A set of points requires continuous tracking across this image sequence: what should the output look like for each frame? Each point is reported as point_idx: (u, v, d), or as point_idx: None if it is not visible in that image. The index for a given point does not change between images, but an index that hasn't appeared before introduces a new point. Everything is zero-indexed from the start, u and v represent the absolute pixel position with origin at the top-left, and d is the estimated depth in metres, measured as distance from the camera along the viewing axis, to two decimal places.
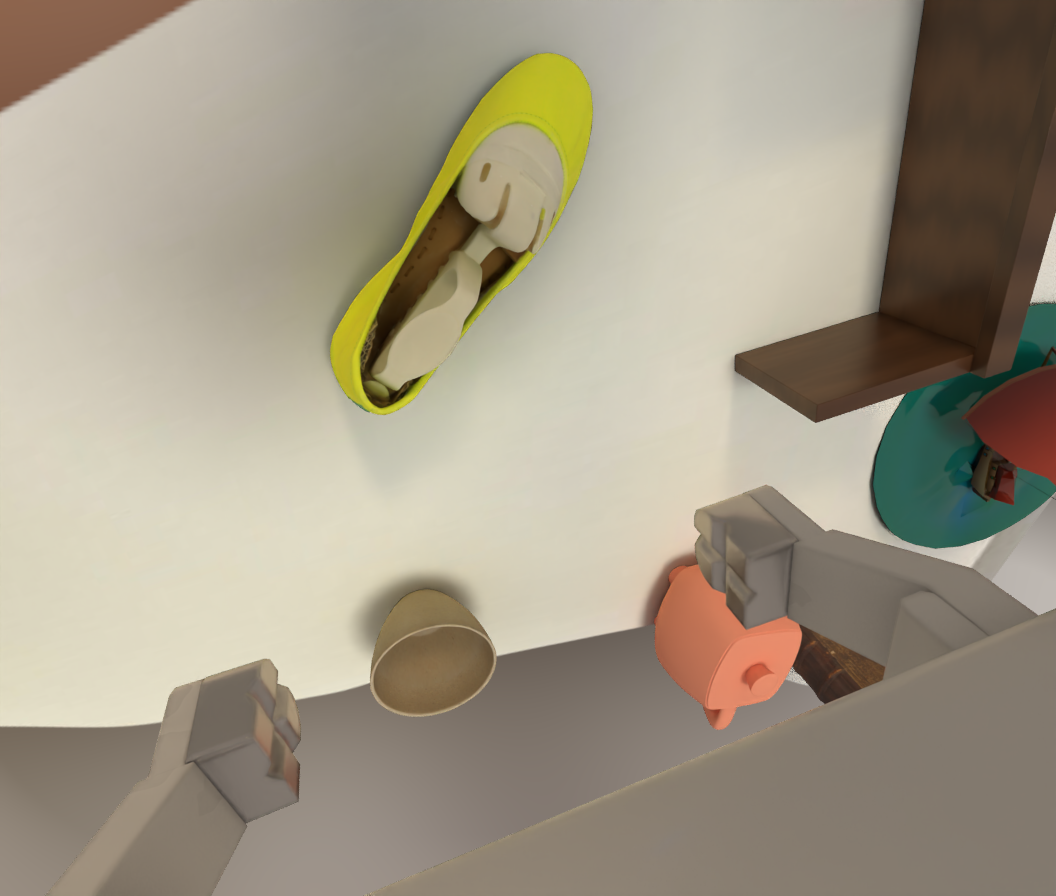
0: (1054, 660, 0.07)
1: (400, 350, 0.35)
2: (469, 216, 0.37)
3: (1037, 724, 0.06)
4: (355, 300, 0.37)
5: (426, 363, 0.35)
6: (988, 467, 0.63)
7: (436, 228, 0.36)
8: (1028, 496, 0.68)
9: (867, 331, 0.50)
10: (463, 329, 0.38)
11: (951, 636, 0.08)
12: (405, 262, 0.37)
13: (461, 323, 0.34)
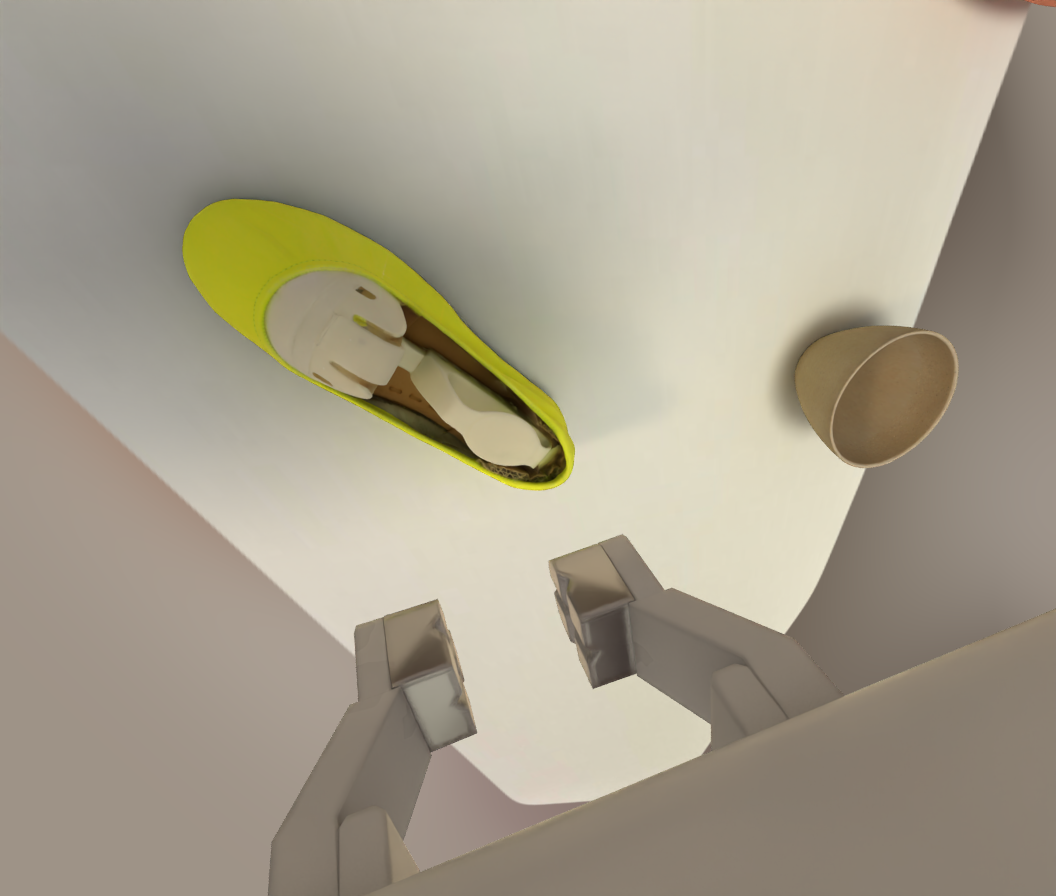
0: (1054, 660, 0.07)
1: (508, 458, 0.34)
2: None
3: (1037, 724, 0.06)
4: None
5: (524, 435, 0.33)
6: None
7: (389, 386, 0.35)
8: None
9: None
10: (494, 373, 0.34)
11: (750, 718, 0.07)
12: (425, 412, 0.36)
13: (482, 415, 0.31)
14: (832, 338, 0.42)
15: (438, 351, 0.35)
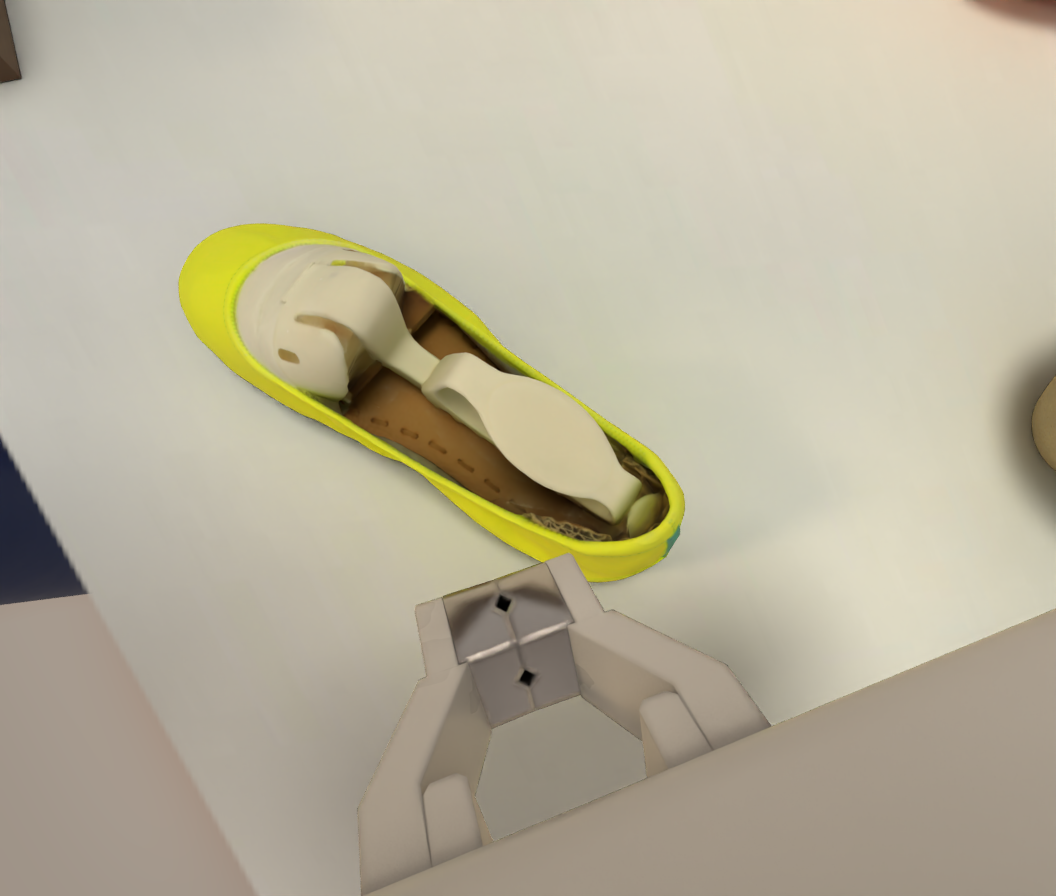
0: (1054, 660, 0.07)
1: (563, 476, 0.21)
2: (384, 382, 0.26)
3: (1037, 724, 0.06)
4: (510, 543, 0.24)
5: (584, 433, 0.21)
6: None
7: (401, 427, 0.25)
8: None
9: None
10: (539, 379, 0.24)
11: (674, 749, 0.07)
12: (453, 471, 0.25)
13: (506, 376, 0.20)
14: None
15: None
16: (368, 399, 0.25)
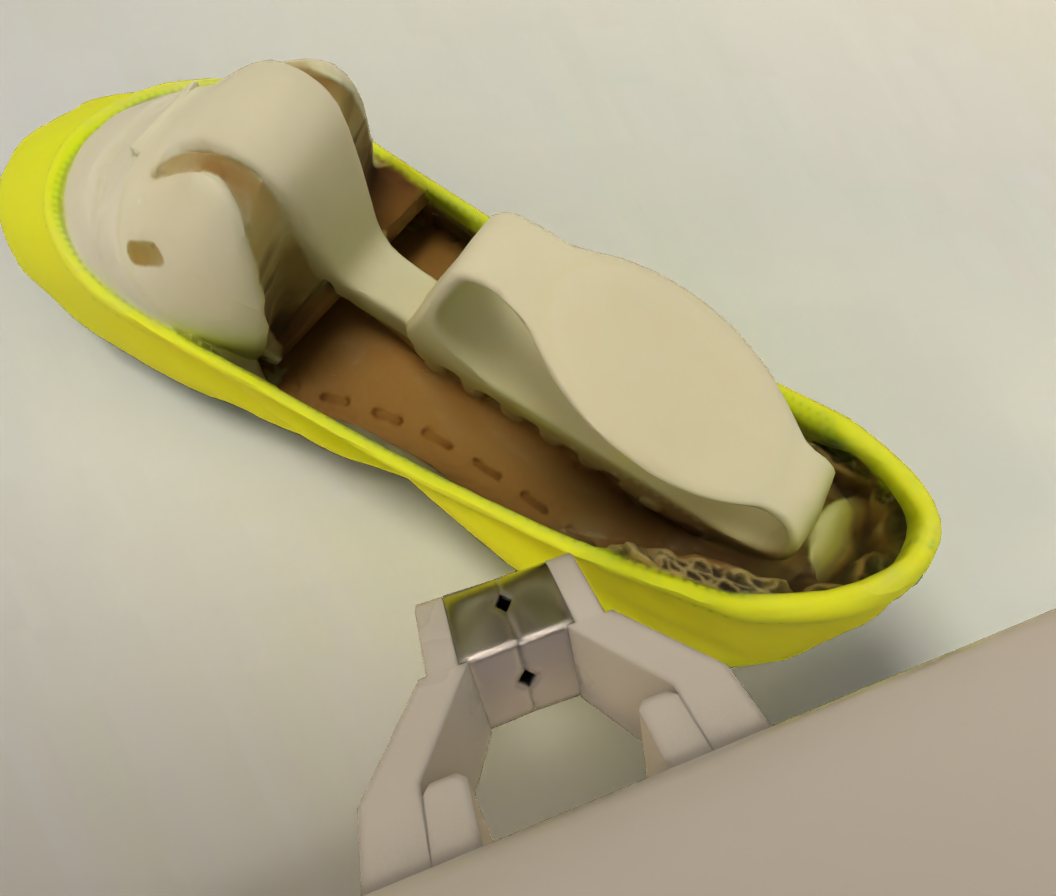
0: (1054, 660, 0.07)
1: (703, 461, 0.10)
2: (344, 334, 0.15)
3: (1037, 724, 0.06)
4: None
5: (737, 373, 0.10)
6: None
7: (373, 407, 0.14)
8: None
9: None
10: None
11: (674, 749, 0.07)
12: (465, 479, 0.14)
13: (582, 254, 0.10)
14: None
15: None
16: (315, 363, 0.15)
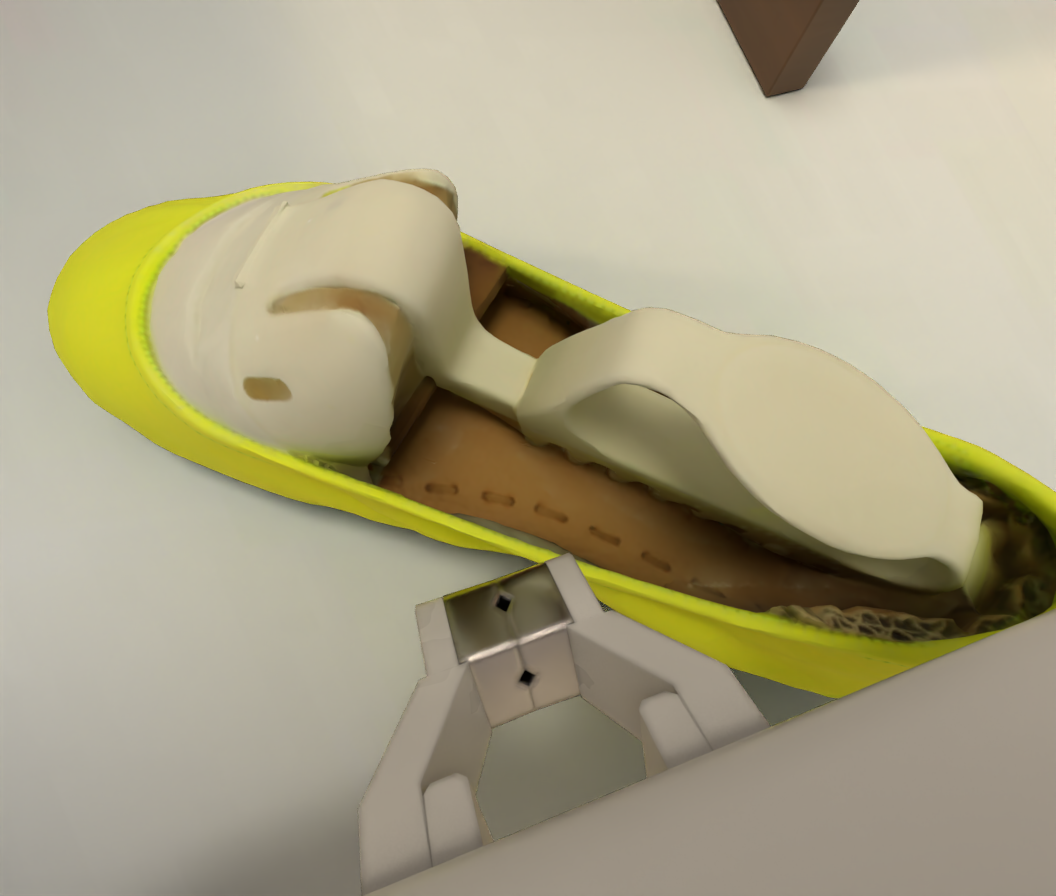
0: (1054, 660, 0.07)
1: (875, 524, 0.10)
2: (435, 419, 0.15)
3: (1037, 724, 0.06)
4: (719, 660, 0.14)
5: (891, 429, 0.10)
6: None
7: (482, 491, 0.14)
8: None
9: None
10: None
11: (674, 750, 0.07)
12: (585, 549, 0.14)
13: (737, 339, 0.10)
14: None
15: None
16: (413, 453, 0.15)
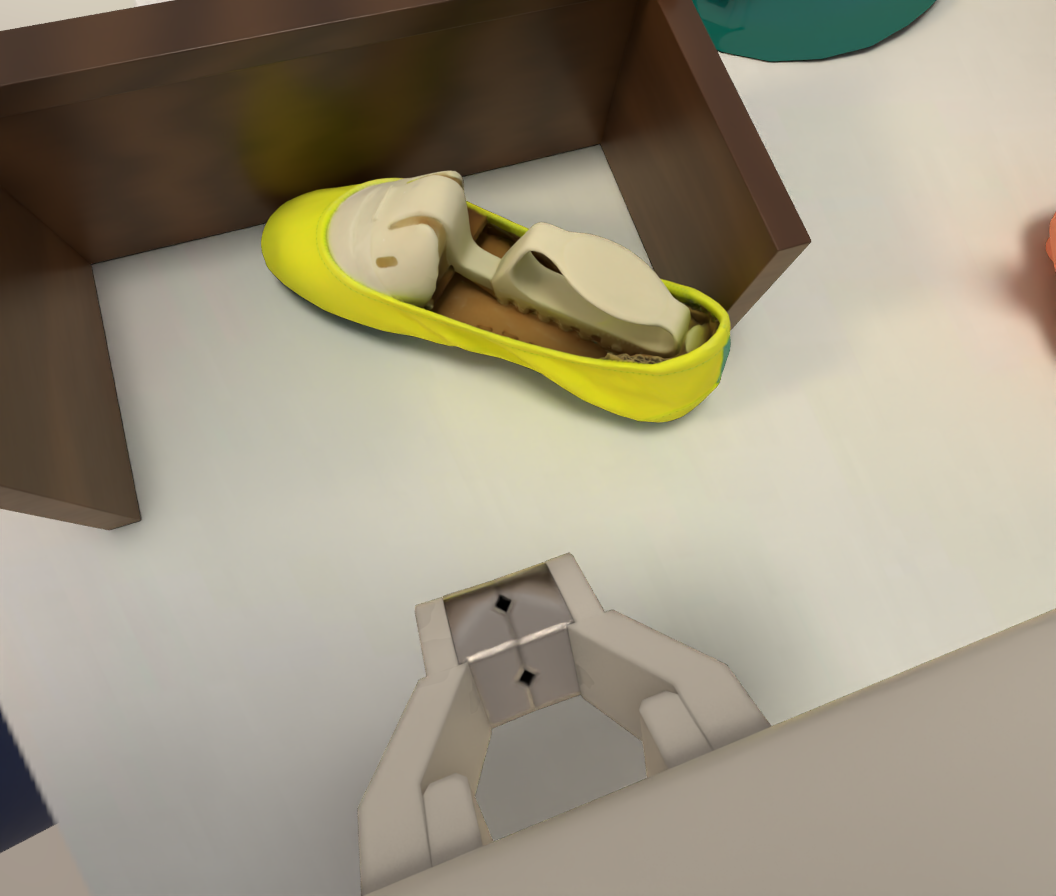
0: (1054, 660, 0.07)
1: (631, 308, 0.25)
2: (453, 293, 0.30)
3: (1037, 724, 0.06)
4: (589, 399, 0.29)
5: (640, 272, 0.26)
6: None
7: (477, 325, 0.29)
8: None
9: (631, 161, 0.32)
10: None
11: (674, 749, 0.07)
12: None
13: (572, 234, 0.25)
14: None
15: None
16: (443, 309, 0.30)
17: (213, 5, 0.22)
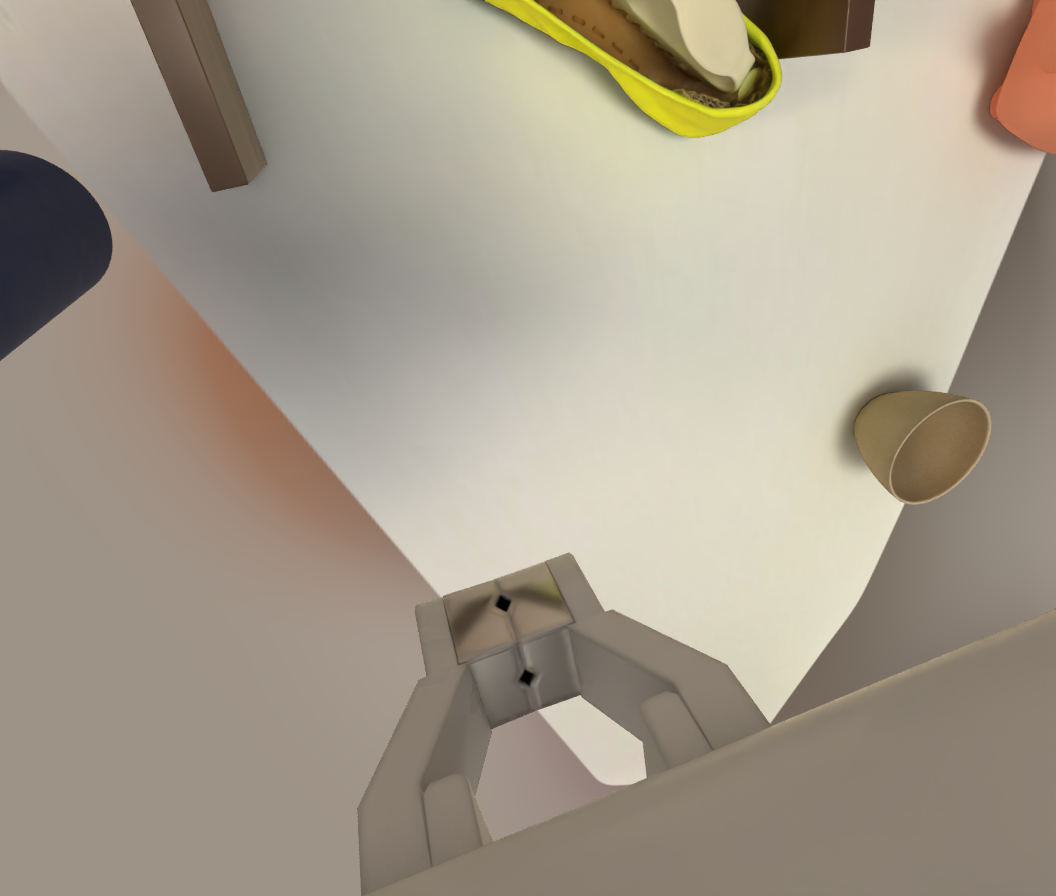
0: (1054, 660, 0.07)
1: (717, 60, 0.31)
2: None
3: (1037, 724, 0.06)
4: (647, 112, 0.35)
5: (734, 24, 0.30)
6: None
7: (572, 15, 0.32)
8: None
9: None
10: None
11: (674, 749, 0.07)
12: (608, 53, 0.33)
13: None
14: (888, 400, 0.53)
15: None
16: None
17: None
